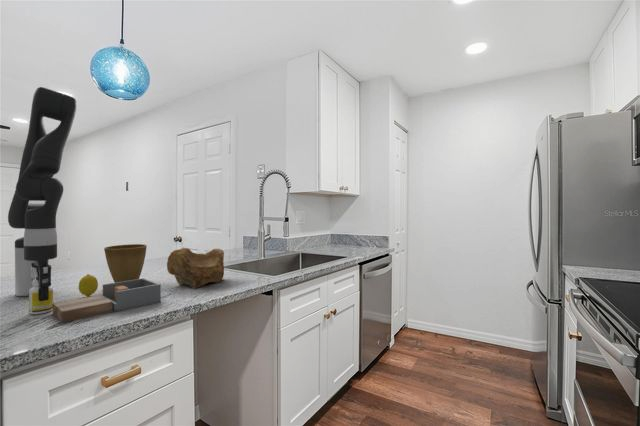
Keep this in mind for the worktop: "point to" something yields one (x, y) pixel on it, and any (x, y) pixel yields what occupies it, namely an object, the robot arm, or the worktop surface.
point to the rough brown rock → (196, 267)
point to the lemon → (88, 285)
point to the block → (119, 288)
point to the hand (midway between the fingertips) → (41, 298)
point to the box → (133, 294)
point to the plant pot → (125, 261)
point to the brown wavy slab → (82, 308)
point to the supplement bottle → (37, 305)
